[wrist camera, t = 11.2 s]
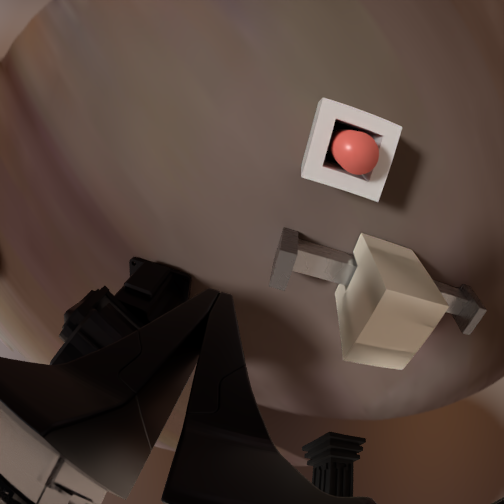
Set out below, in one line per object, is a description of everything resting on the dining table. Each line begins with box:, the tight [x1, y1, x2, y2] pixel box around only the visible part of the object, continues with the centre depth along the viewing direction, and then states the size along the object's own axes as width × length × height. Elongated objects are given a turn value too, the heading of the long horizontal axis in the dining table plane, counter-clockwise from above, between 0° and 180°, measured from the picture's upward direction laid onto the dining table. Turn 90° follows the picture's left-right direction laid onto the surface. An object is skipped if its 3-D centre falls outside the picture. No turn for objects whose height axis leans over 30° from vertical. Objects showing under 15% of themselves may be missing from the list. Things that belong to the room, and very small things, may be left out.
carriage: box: [335, 233, 449, 370], centre depth 18 cm, size 6×5×8 cm
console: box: [301, 98, 402, 202], centre depth 16 cm, size 5×5×4 cm
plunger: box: [328, 129, 379, 175], centre depth 15 cm, size 2×2×5 cm
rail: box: [269, 228, 487, 335], centre depth 20 cm, size 3×20×4 cm, turn 77°
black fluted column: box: [302, 432, 366, 497], centre depth 29 cm, size 8×8×20 cm
